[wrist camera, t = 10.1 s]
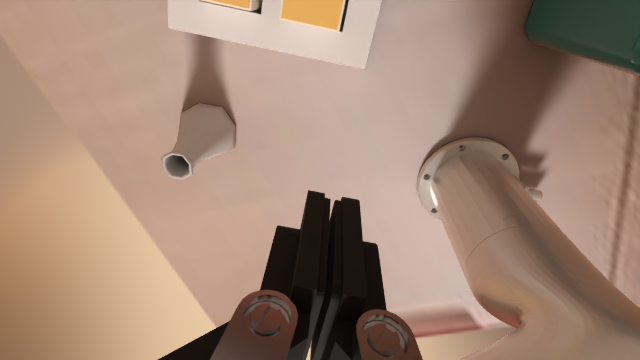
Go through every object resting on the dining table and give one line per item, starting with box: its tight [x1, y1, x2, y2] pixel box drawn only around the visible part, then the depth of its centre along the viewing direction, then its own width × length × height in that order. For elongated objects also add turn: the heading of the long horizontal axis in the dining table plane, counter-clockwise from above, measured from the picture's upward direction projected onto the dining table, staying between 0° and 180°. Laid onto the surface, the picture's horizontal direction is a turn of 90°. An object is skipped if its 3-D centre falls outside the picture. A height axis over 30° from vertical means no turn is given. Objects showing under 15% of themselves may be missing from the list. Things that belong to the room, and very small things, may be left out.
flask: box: [162, 103, 236, 179], centre depth 39 cm, size 7×7×10 cm
